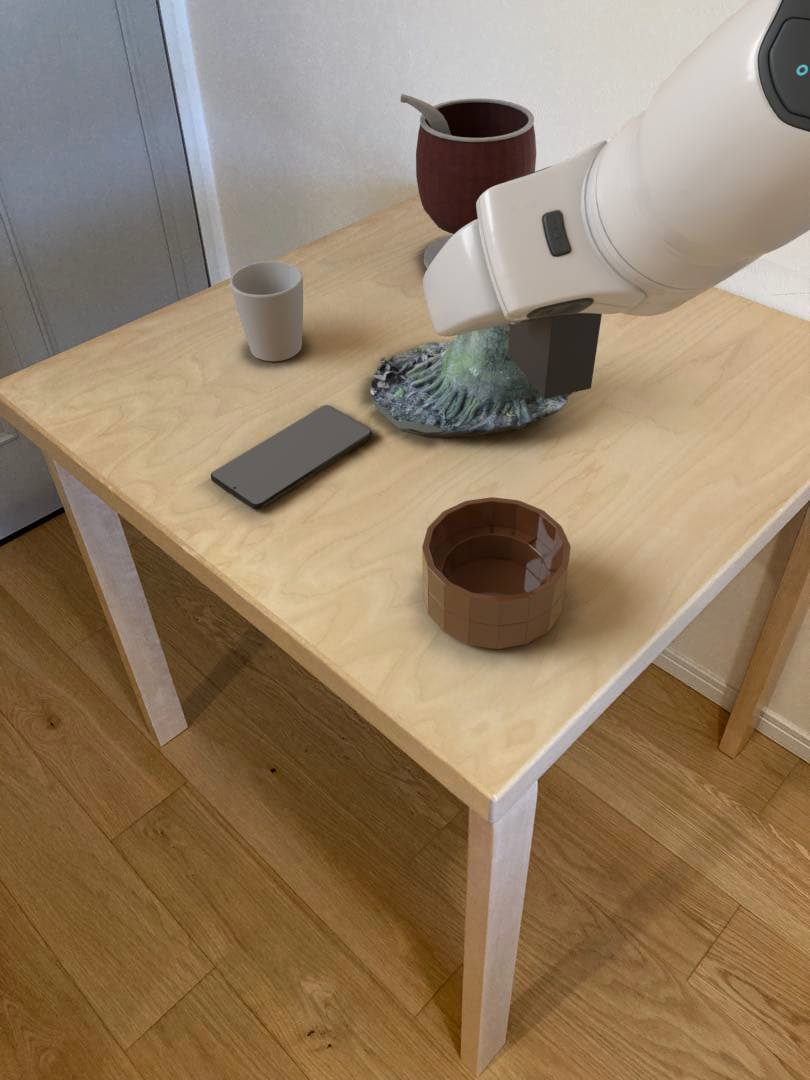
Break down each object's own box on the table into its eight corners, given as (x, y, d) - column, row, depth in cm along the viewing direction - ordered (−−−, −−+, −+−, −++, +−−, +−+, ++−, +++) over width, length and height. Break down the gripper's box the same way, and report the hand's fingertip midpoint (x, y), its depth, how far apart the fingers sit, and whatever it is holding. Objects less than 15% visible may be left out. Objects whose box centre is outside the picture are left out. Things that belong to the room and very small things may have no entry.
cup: (240, 370, 96) (227, 298, 90) (243, 321, 103) (232, 252, 97) (311, 365, 96) (303, 293, 90) (309, 317, 104) (302, 247, 98)
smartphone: (374, 430, 86) (255, 506, 79) (375, 437, 87) (257, 514, 79) (325, 402, 90) (206, 473, 82) (326, 409, 90) (208, 480, 83)
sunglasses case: (552, 344, 65) (564, 224, 58) (591, 388, 60) (609, 265, 54) (507, 353, 64) (515, 233, 57) (544, 399, 60) (556, 275, 53)
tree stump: (418, 330, 102) (459, 181, 89) (574, 410, 98) (641, 268, 85) (335, 409, 90) (368, 251, 77) (510, 504, 86) (577, 355, 73)
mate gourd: (518, 232, 118) (530, 67, 104) (536, 284, 108) (551, 109, 94) (401, 238, 117) (396, 73, 103) (408, 291, 107) (404, 117, 93)
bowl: (539, 542, 76) (545, 489, 72) (580, 640, 68) (589, 587, 64) (412, 561, 75) (411, 508, 71) (439, 663, 67) (440, 611, 63)
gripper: (808, 132, 48) (676, 230, 61) (452, 194, 43) (394, 285, 57) (837, 247, 48) (699, 320, 61) (484, 320, 43) (419, 381, 57)
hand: (550, 303), depth 59 cm, fingers closed on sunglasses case, 3 cm apart
